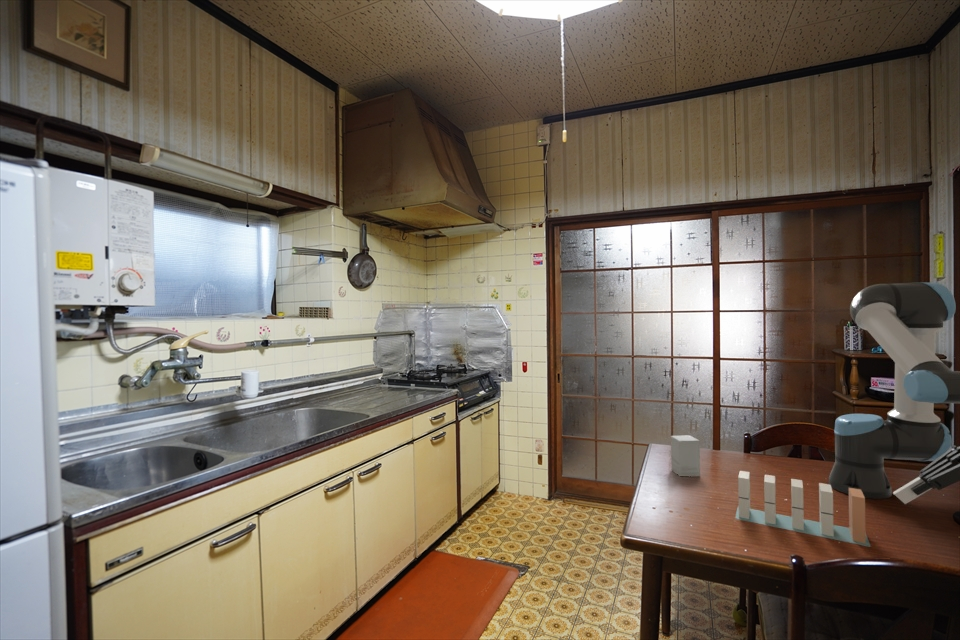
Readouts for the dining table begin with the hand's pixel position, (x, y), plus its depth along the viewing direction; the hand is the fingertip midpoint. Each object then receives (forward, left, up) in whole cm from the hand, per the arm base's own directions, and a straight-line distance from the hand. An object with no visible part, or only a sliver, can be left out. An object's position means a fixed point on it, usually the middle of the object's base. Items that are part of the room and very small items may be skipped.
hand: (899, 498), depth 105 cm
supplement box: (+35, -47, -13) cm, 60 cm away
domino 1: (+29, -14, -11) cm, 34 cm away
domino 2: (+23, -11, -11) cm, 28 cm away
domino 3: (+18, -9, -11) cm, 23 cm away
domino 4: (+12, -6, -11) cm, 18 cm away
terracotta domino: (+7, -4, -11) cm, 14 cm away
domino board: (+18, -9, -12) cm, 23 cm away
